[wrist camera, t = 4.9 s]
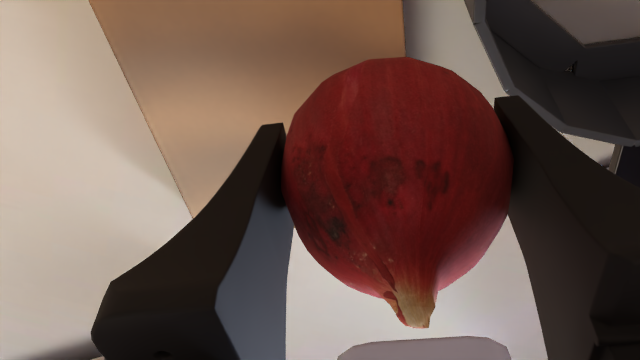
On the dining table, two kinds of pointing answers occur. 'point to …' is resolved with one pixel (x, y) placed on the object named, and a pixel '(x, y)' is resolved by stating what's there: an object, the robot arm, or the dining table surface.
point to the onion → (397, 180)
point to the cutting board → (235, 69)
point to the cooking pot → (566, 76)
